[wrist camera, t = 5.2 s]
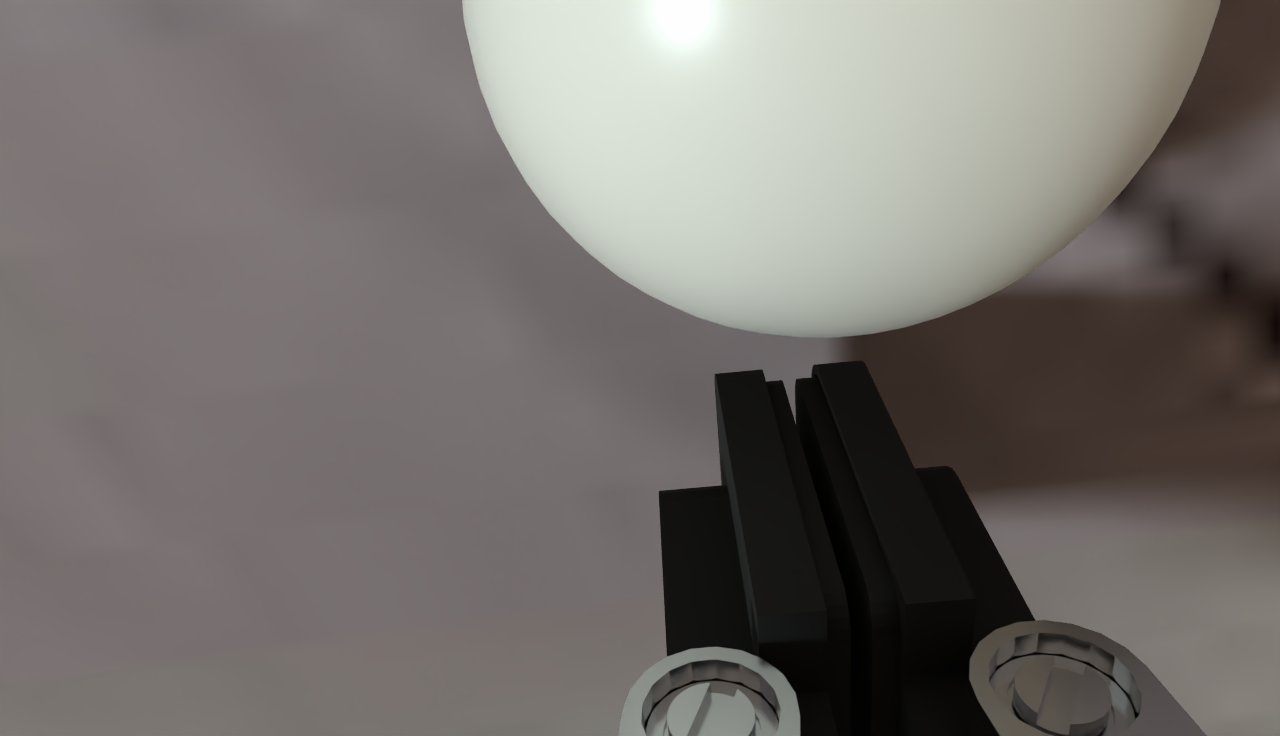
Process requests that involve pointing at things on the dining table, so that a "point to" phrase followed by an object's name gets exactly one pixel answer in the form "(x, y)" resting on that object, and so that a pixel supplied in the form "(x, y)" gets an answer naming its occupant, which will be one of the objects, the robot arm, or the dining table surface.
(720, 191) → the ivory ball
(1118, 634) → the dining table surface
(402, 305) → the dining table surface
